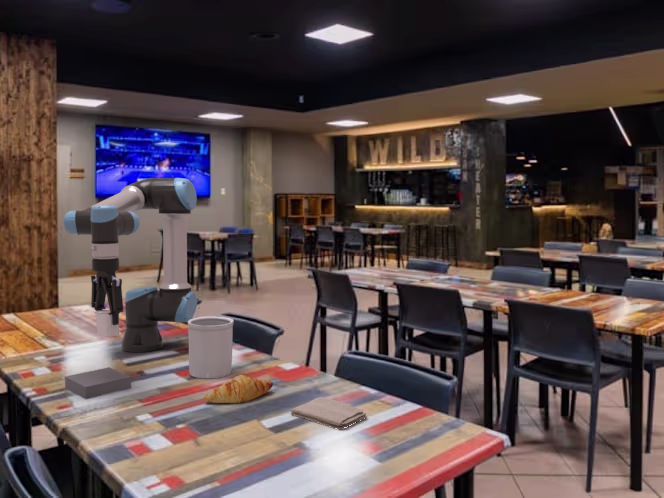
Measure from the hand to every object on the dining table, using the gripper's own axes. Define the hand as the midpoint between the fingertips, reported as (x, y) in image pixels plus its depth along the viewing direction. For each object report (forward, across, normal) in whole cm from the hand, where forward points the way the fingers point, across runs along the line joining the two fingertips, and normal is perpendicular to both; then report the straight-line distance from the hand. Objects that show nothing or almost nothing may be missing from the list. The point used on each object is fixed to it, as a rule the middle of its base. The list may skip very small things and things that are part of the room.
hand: (107, 333), depth 181 cm
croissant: (+17, +36, +20) cm, 45 cm away
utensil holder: (+17, +10, +30) cm, 36 cm away
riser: (+17, -2, -2) cm, 18 cm away
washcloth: (+18, +65, +26) cm, 73 cm away
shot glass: (+1, 0, 0) cm, 1 cm away
